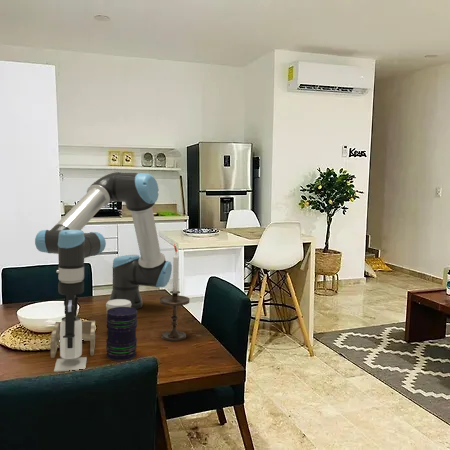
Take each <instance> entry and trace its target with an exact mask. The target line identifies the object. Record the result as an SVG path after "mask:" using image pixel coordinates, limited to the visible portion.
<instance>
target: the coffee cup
mask: <svg viewBox="0 0 450 450" xmlns="http://www.w3.org/2000/svg"><path fill="white" fill-rule="evenodd" d="M131 305H132V304H131V302H130V301H129V300H125V299H114V300H110V301H109V300H108V301H107V302H106V303H105V308H106V313H107V310H109V309H111V308H115V307H131Z"/></svg>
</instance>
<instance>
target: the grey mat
mask: <svg viewBox="0 0 450 450" xmlns="http://www.w3.org/2000/svg"><path fill="white" fill-rule="evenodd" d="M87 358H88V356H80V357H79V358H76V359H70V360H68V359H63V358H56V362H55V366H54V370H53V372H54V373H58V372H71V371H72V370H75V371H80V370H79V369H85V368H86V369H87V367H86V366H87V361H88V360H87ZM69 370H70V371H69Z"/></svg>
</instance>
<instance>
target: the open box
mask: <svg viewBox="0 0 450 450" xmlns="http://www.w3.org/2000/svg"><path fill="white" fill-rule="evenodd" d="M81 322H82V339H83V340H84V341H83V342H89V344H90V346H89V347H90V348H89V353H90V354H89V356H95V345H96V320H81ZM60 323H61V321H55V323H54V326H53V329H52V331H51V334H50V359H56V354H57V351H58V348H57V345H58V346H59V344H58V342H59V340H60ZM59 343H60V342H59Z"/></svg>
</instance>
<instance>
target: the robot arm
mask: <svg viewBox="0 0 450 450" xmlns="http://www.w3.org/2000/svg"><path fill="white" fill-rule="evenodd" d="M158 199H159V185H158V182H157V179H156V178H155V177H154V176H153V175H152V174H151V173H146V172H145V173H144V172H122V171H121V172H120V171H117V172H111V173H108V174H105V175H104V176H101V177H100V178H99V179H97V180H95V181H94V182H93V183H92V184H90V185H89V187H88V188H87V190H86V194H85V195H83V197H81V199H79V201H77V203H76V204H74V205H73V207H71V209H70V210H69V211H68V212H66V214H65V215H63V217H61V219H60V220H59V221H58V222H57V223H56V224H55V225H54V226H53V227H51V229H50V230H49V229H41V230H40V231H38V233H37V234H36V235H35V238H34V245H35V247H36V249H37V251H38V252H40V253H46V254H54V255H55V254H56V255H58V269H56V273H57V274H58V280H59V281H58V283H57V284H58V285H57V286H58V287H57V289H58V291H57V292H58V294H59V295H62V296H66V297H64V301H63V306H64V315H65V316H64V317H65V336H63V338H65V358H75V334H74V330H75V316H78V315H77V313H78V311H77V310H78V305H79V304H78V303H79V298H78V295H82V294H83V293H84V292H85V280H84V279H85V259H86V258H89V257H93V256H94V257H95V256H97V255H99V254H102V253H103V252H104V250H105V248H106V245H107V243H106V242H107V241H106V239H105V236H104V235H103V234H101V232H95V231H94V232H93V231H91V232H87V233H86V232H84V231H83V229H84V227H85V226H86V225H87V224H88V223H89V222H90V221H91V220H92V219H93V218H94V216H95V215H96V214H97V213H98V212H99V211H100V210H101V209H102V207H106V206H108V204H109V203H112V202H119V203H120V202H121V203H122V202H123V203H124V204H125V206H126V207H125V208H126V209H127V211H129V212H131V218H132V222H133V226H134V232H135V236H136V240H137V244H138V251H139V253H140V255H139V254H128V255H126V254H125V255H120V256H117V257H115V258H114V259H113V260H112V290H111V293H110V296H109V299H108V301H110V300H114V299H125V300H129V301H130V302H131V304H132V305H131V308H135V309H136V310H138V309H140V308H142V307H143V299H142V295H141V292H140V286H144V287H154V288H164V287H166V286H167V285H168V283H169V282H170V279H171V276H172V272H173V264H172V262H171V261H169V260H166V256H165V255H164V254H163V252H161V247H160V243H159V238H158V232H157V226H156V221H155V215H154V210H153V207H155V205H156V202H157V201H158Z"/></svg>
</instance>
